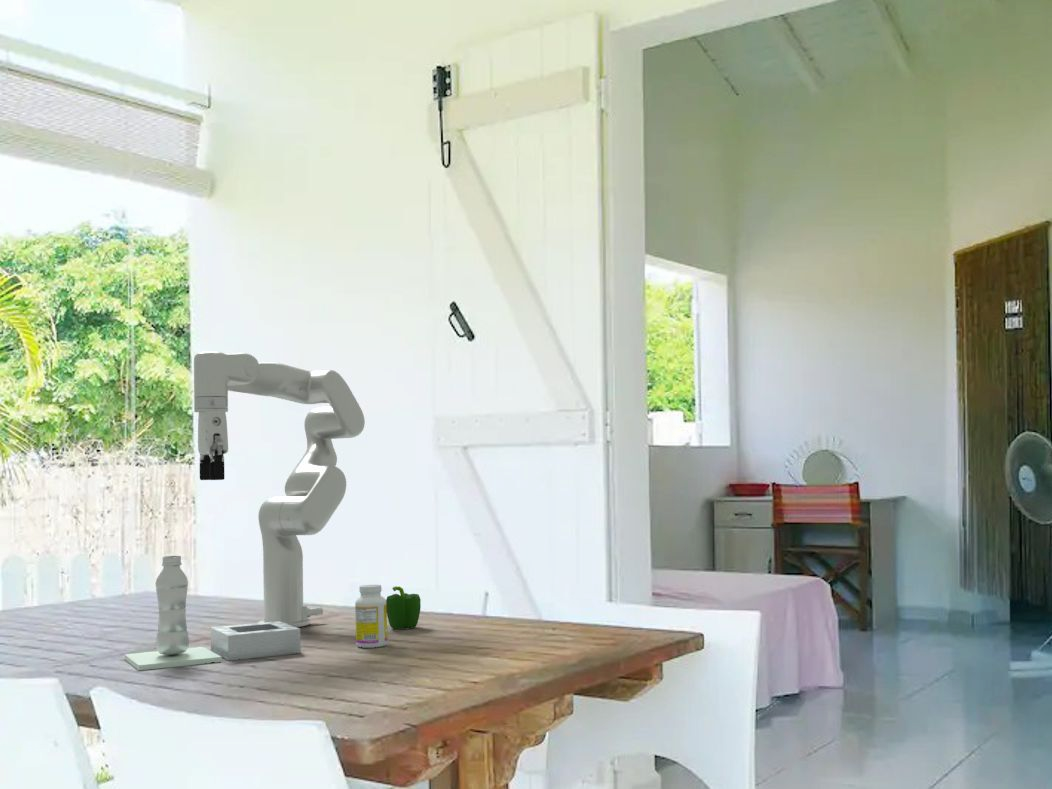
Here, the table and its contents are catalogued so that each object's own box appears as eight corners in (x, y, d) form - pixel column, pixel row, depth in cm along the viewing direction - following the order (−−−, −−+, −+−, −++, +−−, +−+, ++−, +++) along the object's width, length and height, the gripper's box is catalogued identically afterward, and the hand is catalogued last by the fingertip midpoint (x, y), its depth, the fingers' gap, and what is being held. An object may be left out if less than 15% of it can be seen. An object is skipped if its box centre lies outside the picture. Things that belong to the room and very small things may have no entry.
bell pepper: (416, 624, 277) (415, 583, 277) (424, 629, 269) (423, 586, 269) (382, 627, 274) (381, 585, 274) (389, 631, 266) (388, 588, 267)
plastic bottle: (196, 652, 236) (195, 555, 237) (175, 658, 229) (174, 557, 231) (169, 651, 238) (169, 555, 239) (148, 657, 232) (148, 557, 233)
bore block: (279, 644, 251) (279, 621, 252) (300, 653, 238) (300, 628, 239) (210, 651, 244) (210, 627, 244) (228, 660, 231) (228, 635, 231)
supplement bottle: (374, 642, 250) (373, 583, 251) (393, 645, 245) (392, 585, 246) (349, 646, 245) (348, 586, 246) (368, 649, 241) (367, 588, 241)
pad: (203, 651, 244) (203, 646, 244) (221, 661, 230) (221, 656, 230) (124, 659, 236) (124, 654, 236) (138, 670, 222) (138, 665, 222)
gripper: (237, 403, 258) (237, 479, 257) (218, 407, 273) (219, 479, 272) (203, 403, 255) (204, 480, 254) (186, 407, 270) (186, 480, 269)
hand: (211, 479), depth 263 cm, fingers open, 9 cm apart
